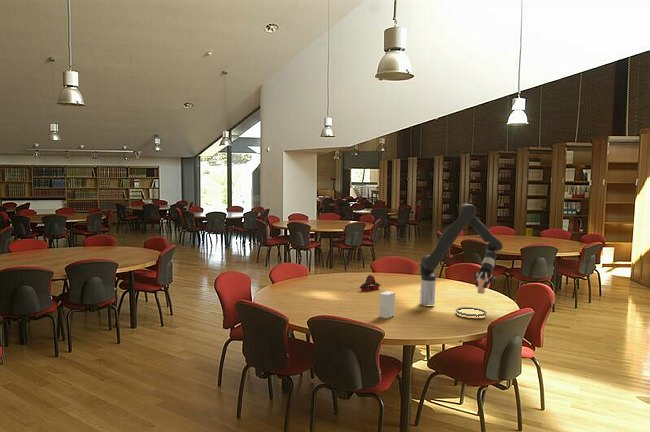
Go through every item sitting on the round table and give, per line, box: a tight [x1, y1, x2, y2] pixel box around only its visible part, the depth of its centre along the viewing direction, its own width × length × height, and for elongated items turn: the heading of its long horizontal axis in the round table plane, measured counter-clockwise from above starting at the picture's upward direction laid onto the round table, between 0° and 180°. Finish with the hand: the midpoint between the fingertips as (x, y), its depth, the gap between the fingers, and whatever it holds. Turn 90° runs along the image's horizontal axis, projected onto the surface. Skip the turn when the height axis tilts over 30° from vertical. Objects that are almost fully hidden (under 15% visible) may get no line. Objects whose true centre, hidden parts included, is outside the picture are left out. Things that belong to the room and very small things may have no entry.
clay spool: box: [476, 279, 486, 295], centre depth 326 cm, size 4×4×8 cm
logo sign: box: [359, 274, 382, 292], centre depth 378 cm, size 18×4×11 cm, turn 124°
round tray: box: [455, 306, 488, 317], centre depth 317 cm, size 18×18×3 cm
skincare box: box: [378, 290, 396, 319], centre depth 308 cm, size 8×6×15 cm
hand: (480, 286), depth 325 cm, fingers closed on clay spool, 4 cm apart
